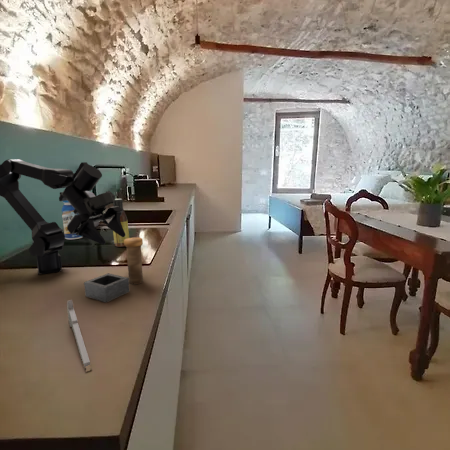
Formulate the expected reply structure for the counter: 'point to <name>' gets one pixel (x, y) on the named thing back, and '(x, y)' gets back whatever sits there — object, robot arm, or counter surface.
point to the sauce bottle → (123, 219)
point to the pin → (134, 259)
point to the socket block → (106, 287)
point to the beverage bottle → (68, 220)
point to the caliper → (77, 333)
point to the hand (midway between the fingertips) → (115, 239)
